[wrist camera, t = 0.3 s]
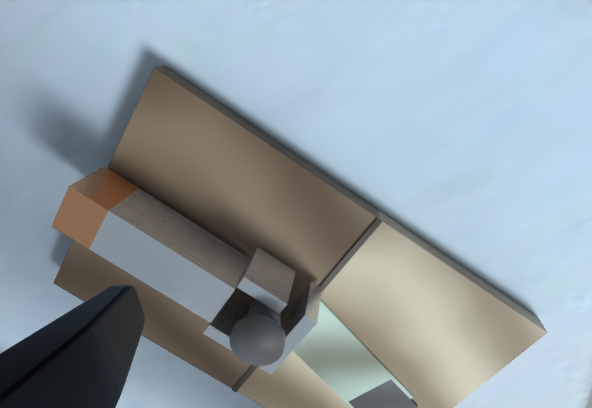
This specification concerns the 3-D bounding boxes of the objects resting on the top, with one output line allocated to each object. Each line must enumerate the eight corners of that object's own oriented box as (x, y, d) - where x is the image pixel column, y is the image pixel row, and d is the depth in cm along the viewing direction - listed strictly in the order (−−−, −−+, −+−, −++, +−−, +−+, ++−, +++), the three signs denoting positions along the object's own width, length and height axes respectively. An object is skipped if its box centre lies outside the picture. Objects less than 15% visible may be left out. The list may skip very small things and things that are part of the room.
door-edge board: (372, 454, 29) (375, 544, 24) (66, 272, 26) (-3, 329, 21) (538, 318, 23) (588, 398, 18) (164, 65, 20) (103, 78, 15)
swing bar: (322, 288, 22) (317, 322, 20) (280, 336, 24) (271, 374, 21) (111, 153, 21) (75, 171, 18) (82, 214, 23) (46, 239, 20)
